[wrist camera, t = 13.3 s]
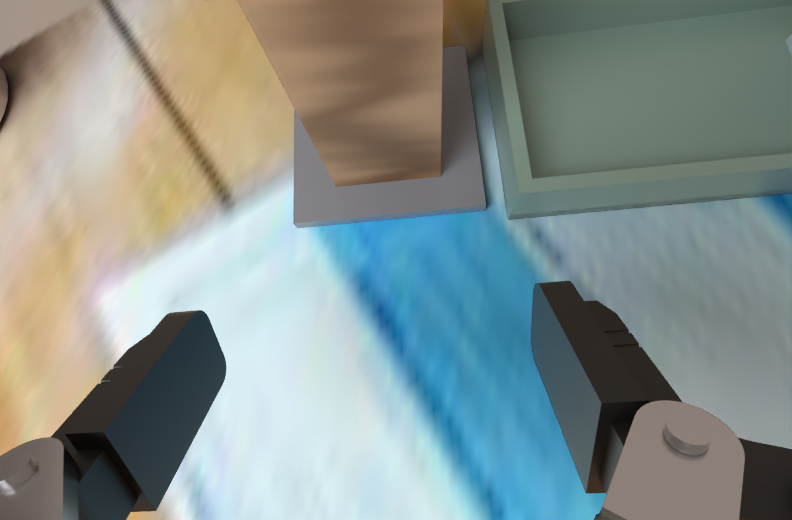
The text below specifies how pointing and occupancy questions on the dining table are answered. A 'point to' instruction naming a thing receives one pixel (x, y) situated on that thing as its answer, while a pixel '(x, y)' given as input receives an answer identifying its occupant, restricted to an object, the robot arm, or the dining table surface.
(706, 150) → the parts bin
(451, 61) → the slate pad
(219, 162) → the dining table surface
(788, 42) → the plain box
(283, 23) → the label box
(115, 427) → the robot arm
